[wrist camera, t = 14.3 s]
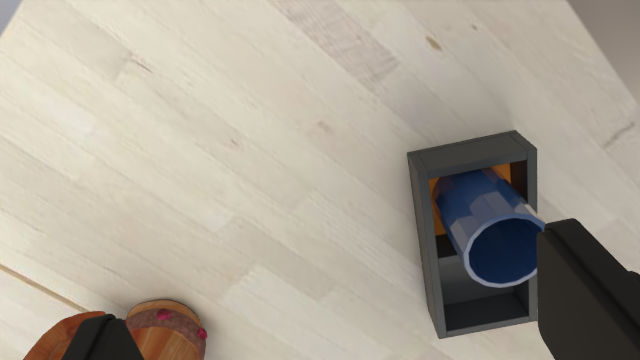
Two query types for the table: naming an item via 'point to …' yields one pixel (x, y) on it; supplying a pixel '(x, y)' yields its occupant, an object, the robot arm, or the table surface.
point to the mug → (137, 333)
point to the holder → (440, 255)
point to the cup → (488, 226)
